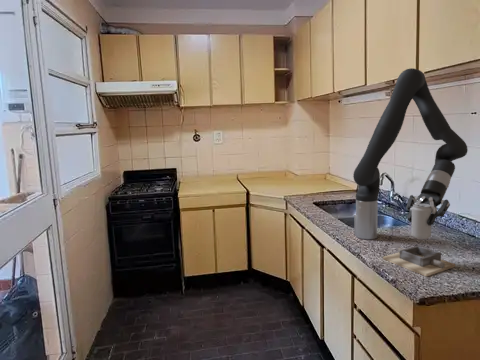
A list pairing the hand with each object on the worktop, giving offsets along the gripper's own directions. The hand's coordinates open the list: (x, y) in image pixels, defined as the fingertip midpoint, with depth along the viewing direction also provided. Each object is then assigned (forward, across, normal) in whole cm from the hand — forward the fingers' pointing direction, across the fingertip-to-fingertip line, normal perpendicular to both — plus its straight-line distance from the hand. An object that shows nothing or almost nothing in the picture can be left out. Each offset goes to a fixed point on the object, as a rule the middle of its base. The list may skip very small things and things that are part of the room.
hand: (419, 222), depth 125 cm
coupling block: (+11, 0, +11) cm, 16 cm away
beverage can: (+3, 0, +6) cm, 6 cm away
